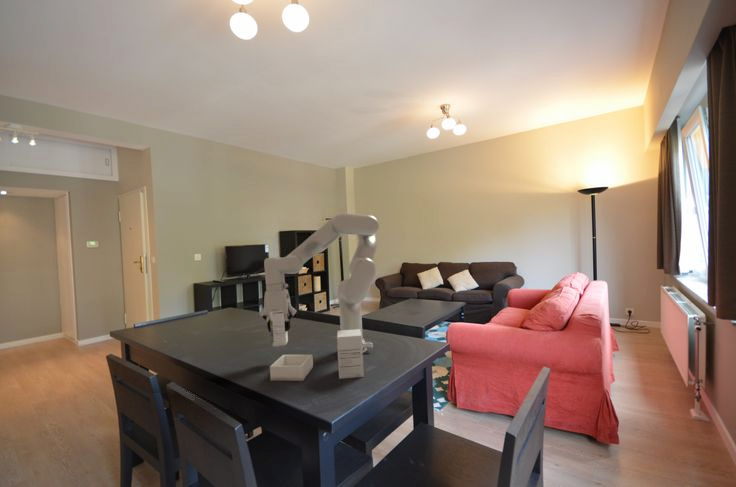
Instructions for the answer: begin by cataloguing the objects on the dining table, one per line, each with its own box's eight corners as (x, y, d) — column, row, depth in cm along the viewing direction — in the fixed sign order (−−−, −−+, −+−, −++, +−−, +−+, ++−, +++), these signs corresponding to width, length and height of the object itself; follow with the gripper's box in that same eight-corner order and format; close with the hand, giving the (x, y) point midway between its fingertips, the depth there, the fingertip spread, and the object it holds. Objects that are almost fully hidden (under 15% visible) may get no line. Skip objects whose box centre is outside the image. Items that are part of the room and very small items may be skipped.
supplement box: (338, 369, 126) (336, 330, 125) (362, 367, 126) (360, 328, 126) (338, 379, 117) (336, 337, 116) (363, 377, 117) (361, 335, 117)
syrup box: (274, 342, 139) (271, 308, 138) (288, 341, 139) (286, 306, 139) (271, 347, 133) (268, 311, 133) (286, 345, 133) (283, 309, 133)
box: (313, 367, 129) (312, 354, 129) (302, 380, 117) (302, 366, 117) (283, 367, 130) (283, 354, 130) (270, 380, 118) (269, 366, 118)
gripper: (299, 284, 138) (302, 327, 138) (260, 287, 140) (263, 328, 141) (292, 287, 131) (296, 332, 131) (251, 290, 133) (255, 334, 133)
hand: (279, 330), depth 136 cm, fingers closed on syrup box, 6 cm apart
